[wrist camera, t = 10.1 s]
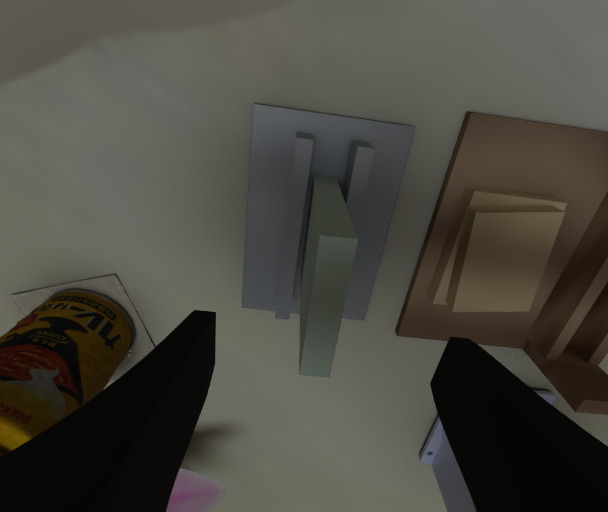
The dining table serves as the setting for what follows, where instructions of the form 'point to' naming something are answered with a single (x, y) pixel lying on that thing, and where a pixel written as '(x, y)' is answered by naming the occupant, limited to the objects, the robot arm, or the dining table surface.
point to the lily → (195, 492)
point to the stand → (296, 197)
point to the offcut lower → (469, 198)
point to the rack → (561, 263)
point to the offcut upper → (501, 257)
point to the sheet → (324, 275)
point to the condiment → (64, 353)
